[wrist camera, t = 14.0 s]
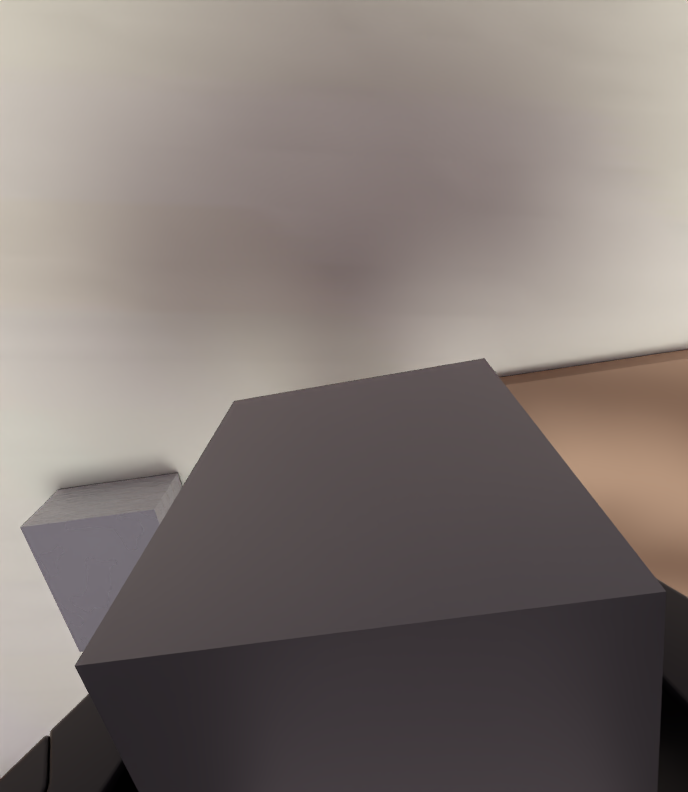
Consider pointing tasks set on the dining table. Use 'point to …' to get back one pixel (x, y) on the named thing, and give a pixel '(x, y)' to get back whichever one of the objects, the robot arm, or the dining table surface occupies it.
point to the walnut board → (624, 446)
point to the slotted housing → (96, 543)
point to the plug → (384, 607)
